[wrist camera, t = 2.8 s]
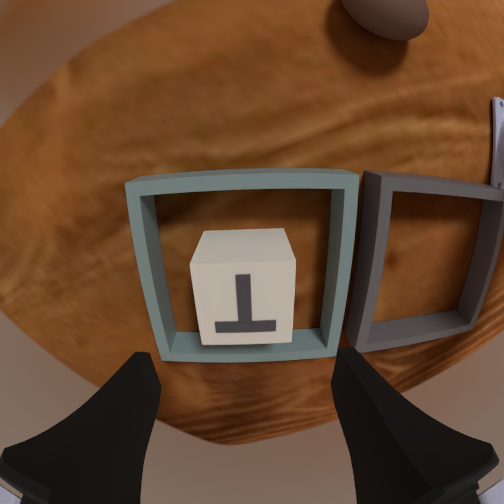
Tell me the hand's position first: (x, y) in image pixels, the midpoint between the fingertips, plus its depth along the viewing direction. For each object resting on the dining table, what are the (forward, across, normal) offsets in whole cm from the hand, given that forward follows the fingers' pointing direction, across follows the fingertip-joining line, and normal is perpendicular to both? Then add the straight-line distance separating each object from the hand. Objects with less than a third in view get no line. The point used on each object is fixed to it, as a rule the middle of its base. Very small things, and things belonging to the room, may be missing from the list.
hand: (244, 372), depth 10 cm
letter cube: (+10, 0, 0) cm, 10 cm away
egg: (+10, -9, -18) cm, 22 cm away
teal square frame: (+9, 0, 0) cm, 9 cm away
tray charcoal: (+9, -14, 0) cm, 17 cm away
